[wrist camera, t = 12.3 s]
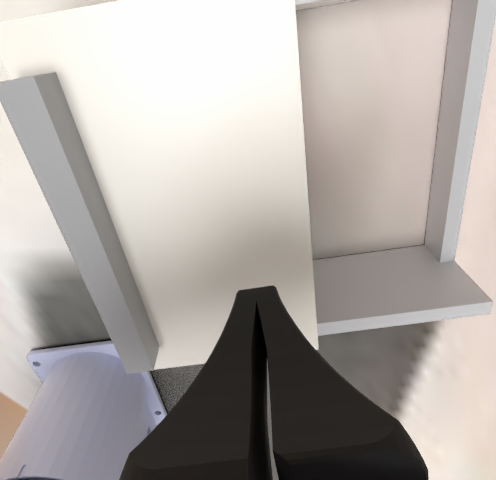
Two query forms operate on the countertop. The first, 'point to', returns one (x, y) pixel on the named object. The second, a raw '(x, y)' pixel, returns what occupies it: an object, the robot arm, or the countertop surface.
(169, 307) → the lid
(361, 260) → the housing
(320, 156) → the countertop surface
